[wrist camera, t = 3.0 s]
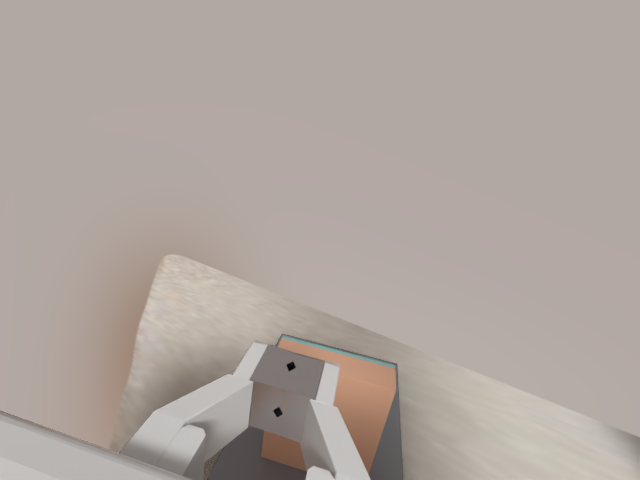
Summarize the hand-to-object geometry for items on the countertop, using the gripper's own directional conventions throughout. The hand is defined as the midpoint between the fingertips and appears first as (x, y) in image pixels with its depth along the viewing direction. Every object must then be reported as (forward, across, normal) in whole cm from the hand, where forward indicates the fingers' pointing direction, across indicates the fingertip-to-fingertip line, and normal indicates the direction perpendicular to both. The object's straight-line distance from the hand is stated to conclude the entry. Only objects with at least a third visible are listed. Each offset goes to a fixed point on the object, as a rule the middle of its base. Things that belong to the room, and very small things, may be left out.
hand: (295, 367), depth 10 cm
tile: (+8, -2, +17) cm, 19 cm away
